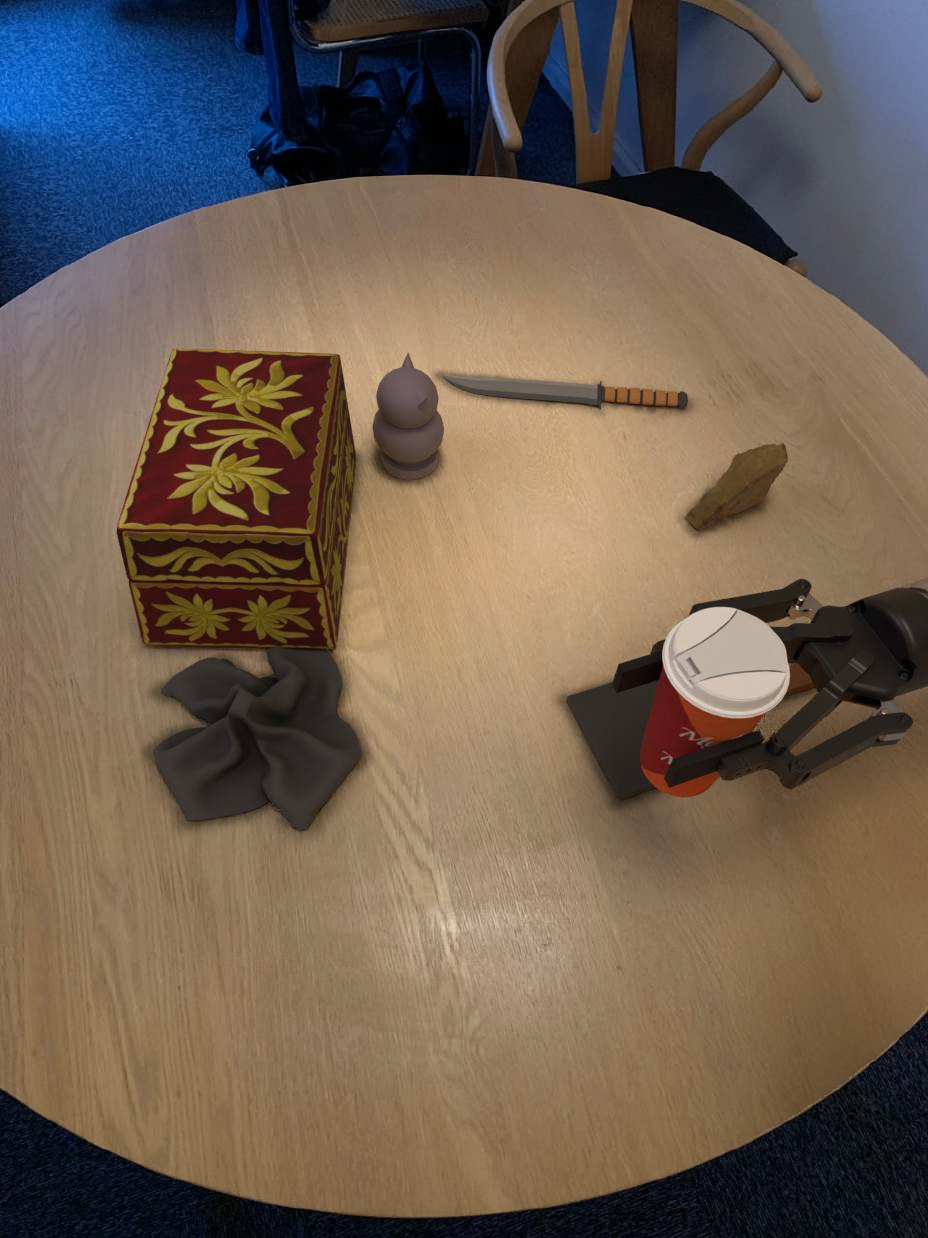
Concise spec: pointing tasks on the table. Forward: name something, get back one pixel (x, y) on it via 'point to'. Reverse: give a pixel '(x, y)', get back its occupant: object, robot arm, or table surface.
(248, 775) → the cloth
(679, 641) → the coffee cup
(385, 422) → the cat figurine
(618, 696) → the spatula
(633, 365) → the table surface
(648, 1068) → the table surface
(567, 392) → the knife
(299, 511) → the decorative box
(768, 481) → the rock
